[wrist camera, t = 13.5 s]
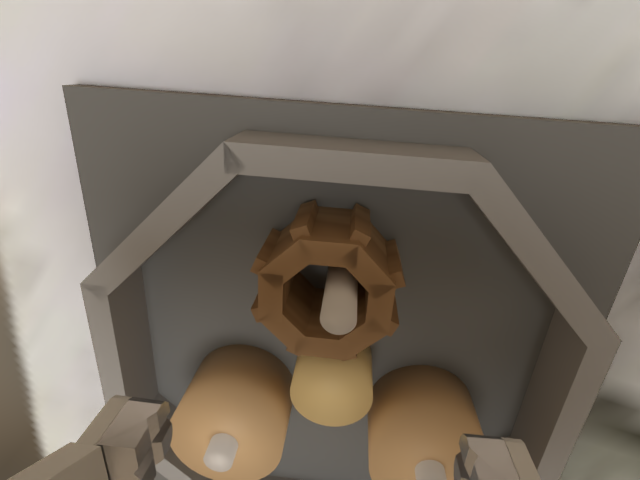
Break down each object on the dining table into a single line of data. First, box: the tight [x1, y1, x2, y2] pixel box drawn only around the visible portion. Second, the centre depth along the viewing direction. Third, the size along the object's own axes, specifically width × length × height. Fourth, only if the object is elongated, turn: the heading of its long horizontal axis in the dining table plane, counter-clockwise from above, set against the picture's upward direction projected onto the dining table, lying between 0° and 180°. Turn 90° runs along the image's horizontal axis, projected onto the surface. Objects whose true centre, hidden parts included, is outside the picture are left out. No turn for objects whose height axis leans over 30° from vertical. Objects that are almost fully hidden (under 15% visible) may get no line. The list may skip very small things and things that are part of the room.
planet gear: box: [250, 200, 406, 361], centre depth 18 cm, size 6×6×4 cm
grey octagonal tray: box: [62, 85, 640, 480], centre depth 20 cm, size 26×26×6 cm
